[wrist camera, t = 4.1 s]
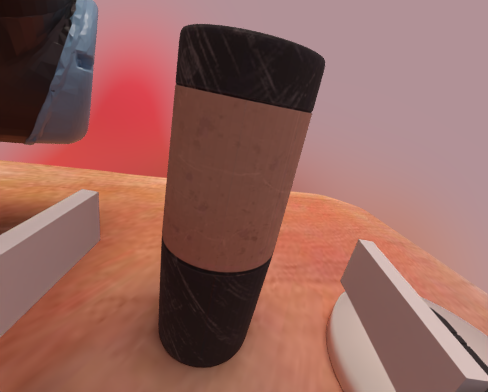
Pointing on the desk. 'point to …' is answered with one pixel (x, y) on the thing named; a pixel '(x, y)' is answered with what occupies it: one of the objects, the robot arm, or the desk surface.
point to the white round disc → (364, 355)
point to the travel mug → (228, 181)
